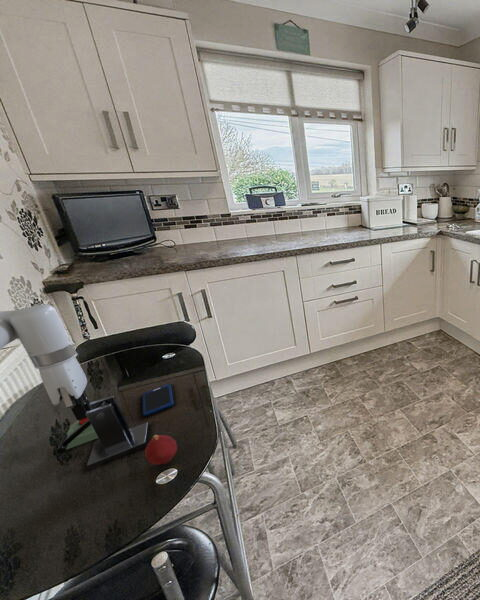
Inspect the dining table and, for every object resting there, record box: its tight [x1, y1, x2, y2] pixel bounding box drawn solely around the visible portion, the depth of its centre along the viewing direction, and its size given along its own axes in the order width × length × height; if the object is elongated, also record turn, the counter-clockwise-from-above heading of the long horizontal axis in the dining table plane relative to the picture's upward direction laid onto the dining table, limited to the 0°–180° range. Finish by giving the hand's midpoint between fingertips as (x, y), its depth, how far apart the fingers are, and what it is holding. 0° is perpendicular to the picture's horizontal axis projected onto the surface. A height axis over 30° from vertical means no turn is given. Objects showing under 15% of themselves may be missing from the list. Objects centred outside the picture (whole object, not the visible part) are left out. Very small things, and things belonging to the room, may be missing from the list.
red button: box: [78, 417, 88, 425], centre depth 86 cm, size 4×4×2 cm
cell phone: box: [142, 383, 175, 417], centre depth 98 cm, size 7×14×1 cm, turn 38°
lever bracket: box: [86, 395, 150, 470], centre depth 79 cm, size 11×9×13 cm
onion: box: [144, 434, 178, 466], centre depth 73 cm, size 6×6×8 cm
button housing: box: [66, 419, 99, 450], centre depth 87 cm, size 10×8×4 cm
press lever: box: [55, 401, 114, 455], centre depth 76 cm, size 12×5×2 cm
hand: (86, 416), depth 85 cm, fingers closed
